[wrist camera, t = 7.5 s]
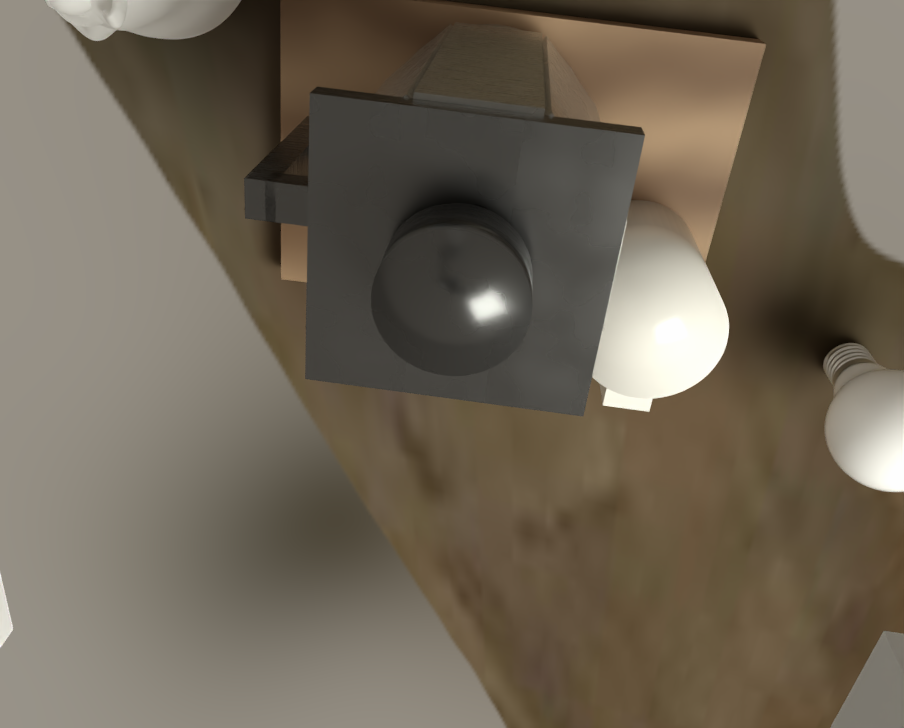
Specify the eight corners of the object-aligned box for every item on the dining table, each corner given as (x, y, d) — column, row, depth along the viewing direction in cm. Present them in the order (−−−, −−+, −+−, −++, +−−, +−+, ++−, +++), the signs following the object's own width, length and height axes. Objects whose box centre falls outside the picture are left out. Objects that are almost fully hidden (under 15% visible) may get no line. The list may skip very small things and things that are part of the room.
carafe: (328, 3, 41) (201, 72, 25) (608, 37, 41) (653, 129, 25) (322, 210, 46) (215, 371, 31) (570, 242, 46) (587, 421, 31)
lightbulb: (765, 370, 51) (818, 480, 41) (840, 290, 48) (916, 390, 38) (845, 418, 52) (914, 536, 42) (923, 343, 49) (1016, 453, 39)
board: (288, -19, 42) (280, -16, 41) (758, 39, 41) (766, 44, 40) (287, 268, 50) (281, 279, 49) (681, 320, 50) (685, 332, 48)
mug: (581, 192, 45) (591, 256, 37) (710, 208, 44) (747, 276, 37) (555, 331, 49) (558, 415, 41) (672, 347, 49) (698, 434, 41)
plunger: (405, 50, 39) (319, 155, 23) (582, 72, 39) (613, 192, 23) (393, 219, 43) (314, 402, 28) (553, 239, 43) (563, 435, 27)
